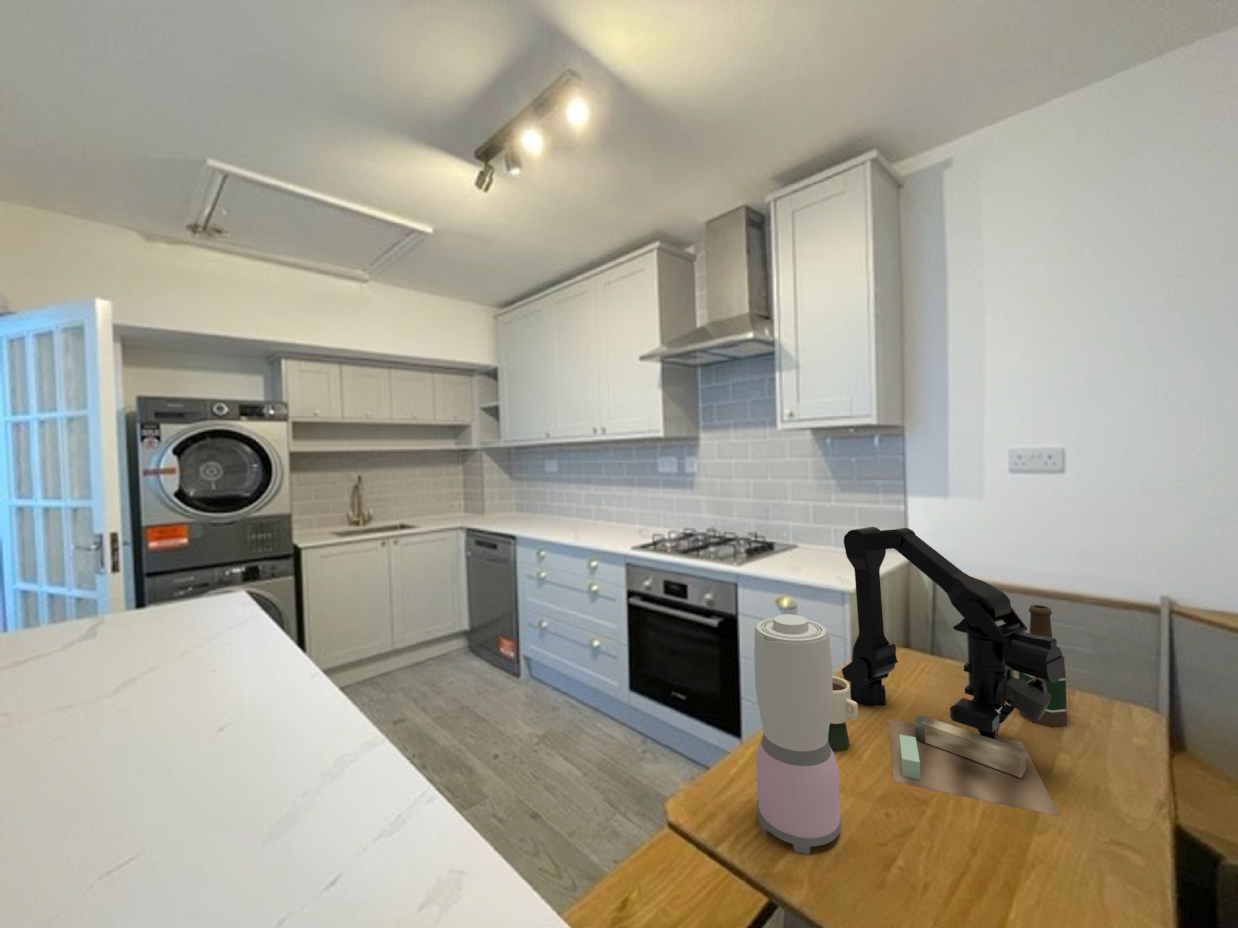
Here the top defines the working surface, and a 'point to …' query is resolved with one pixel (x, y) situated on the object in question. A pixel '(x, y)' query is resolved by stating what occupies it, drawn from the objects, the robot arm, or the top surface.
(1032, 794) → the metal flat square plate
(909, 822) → the top surface
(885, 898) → the top surface
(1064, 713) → the beer bottle
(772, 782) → the blender
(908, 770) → the block
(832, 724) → the character mug
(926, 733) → the fold-out leg
